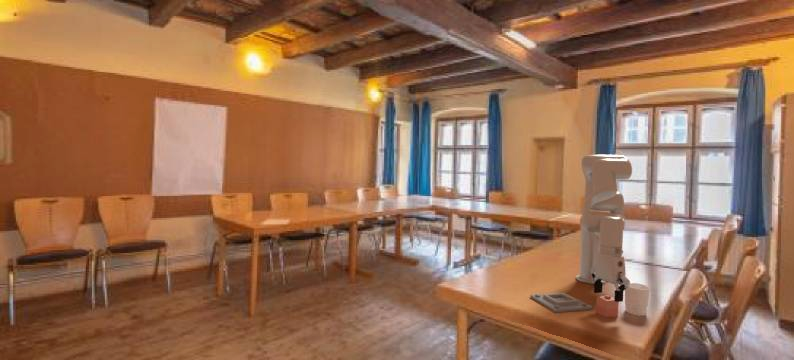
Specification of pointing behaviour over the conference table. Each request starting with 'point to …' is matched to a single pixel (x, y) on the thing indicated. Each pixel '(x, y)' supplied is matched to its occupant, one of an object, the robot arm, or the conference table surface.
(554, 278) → the conference table surface
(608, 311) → the pink knobbed block
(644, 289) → the white cup
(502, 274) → the conference table surface
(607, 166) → the robot arm
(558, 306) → the baseplate
